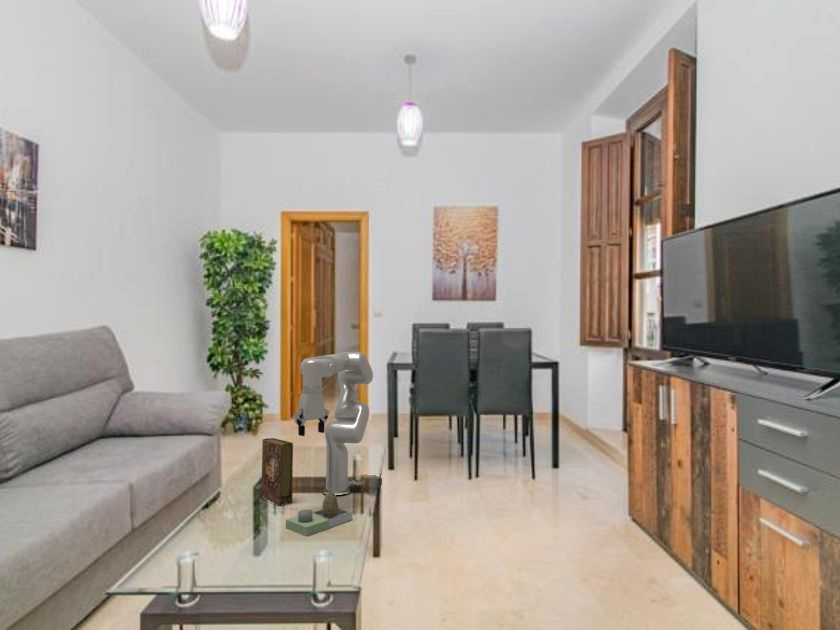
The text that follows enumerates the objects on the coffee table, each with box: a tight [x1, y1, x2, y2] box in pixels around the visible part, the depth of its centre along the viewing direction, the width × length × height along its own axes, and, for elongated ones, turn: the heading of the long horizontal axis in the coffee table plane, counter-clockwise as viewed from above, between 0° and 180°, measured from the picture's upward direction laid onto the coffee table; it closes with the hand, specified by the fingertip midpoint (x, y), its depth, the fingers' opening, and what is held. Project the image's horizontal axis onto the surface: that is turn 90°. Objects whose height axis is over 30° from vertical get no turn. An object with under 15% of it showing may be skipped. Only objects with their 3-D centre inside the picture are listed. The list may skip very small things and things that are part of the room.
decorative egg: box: [321, 492, 339, 518], centre depth 193 cm, size 6×6×10 cm
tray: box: [312, 507, 353, 529], centre depth 193 cm, size 11×11×3 cm
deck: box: [285, 509, 330, 537], centre depth 185 cm, size 10×12×6 cm
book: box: [260, 437, 294, 507], centre depth 217 cm, size 16×6×25 cm, turn 47°
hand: (311, 434), depth 204 cm, fingers open, 9 cm apart
